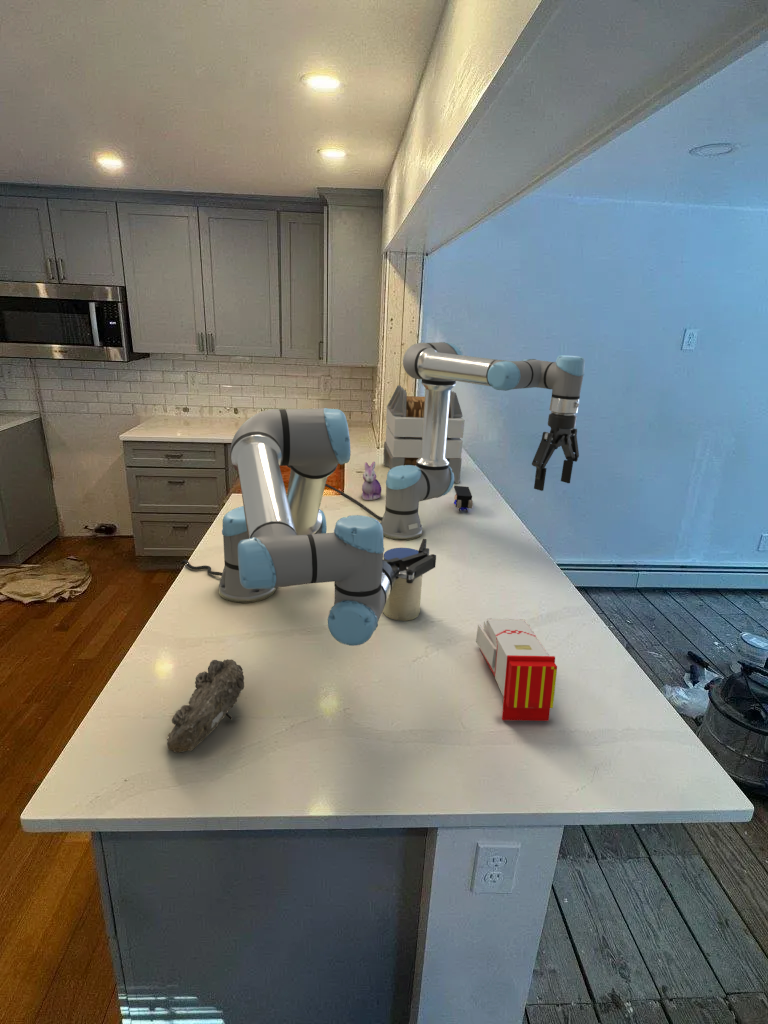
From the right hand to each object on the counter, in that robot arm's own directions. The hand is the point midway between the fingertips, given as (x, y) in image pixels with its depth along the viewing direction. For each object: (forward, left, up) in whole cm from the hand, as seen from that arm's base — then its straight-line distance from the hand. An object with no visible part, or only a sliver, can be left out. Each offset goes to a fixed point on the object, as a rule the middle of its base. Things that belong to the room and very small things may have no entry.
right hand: (552, 485), depth 166 cm
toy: (+28, -51, -28) cm, 65 cm away
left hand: (+5, -66, 0) cm, 67 cm away
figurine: (-85, +3, -28) cm, 90 cm away
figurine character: (-54, +25, -28) cm, 66 cm away
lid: (-8, -51, -12) cm, 53 cm away
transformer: (-101, +46, -28) cm, 115 cm away
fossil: (0, -107, -28) cm, 110 cm away
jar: (-8, -51, -28) cm, 58 cm away
